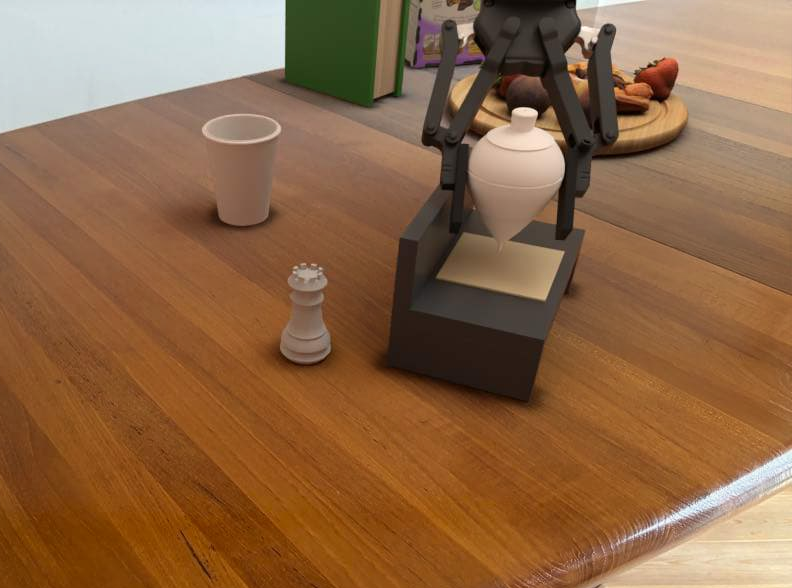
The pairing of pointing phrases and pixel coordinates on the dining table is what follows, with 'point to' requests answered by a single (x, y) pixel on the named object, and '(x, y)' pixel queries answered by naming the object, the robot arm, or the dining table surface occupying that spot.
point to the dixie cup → (242, 165)
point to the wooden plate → (635, 103)
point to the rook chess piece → (306, 318)
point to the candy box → (438, 31)
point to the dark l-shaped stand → (477, 298)
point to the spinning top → (514, 174)
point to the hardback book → (347, 47)
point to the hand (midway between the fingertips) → (509, 231)
